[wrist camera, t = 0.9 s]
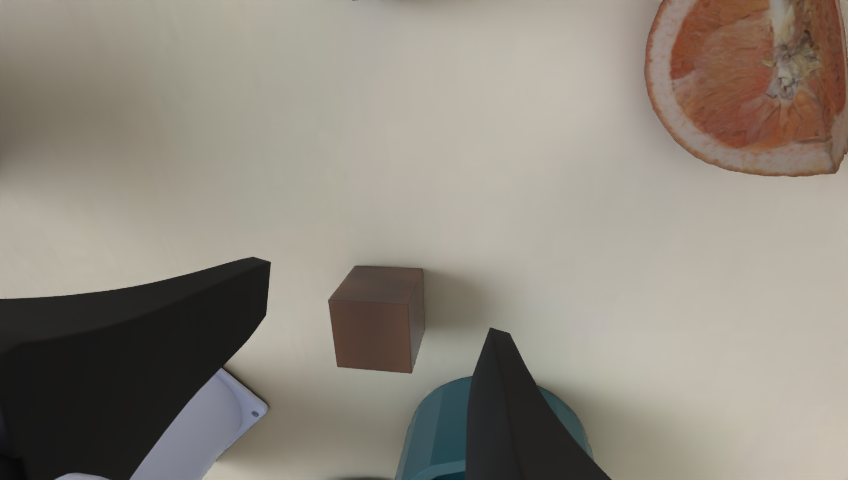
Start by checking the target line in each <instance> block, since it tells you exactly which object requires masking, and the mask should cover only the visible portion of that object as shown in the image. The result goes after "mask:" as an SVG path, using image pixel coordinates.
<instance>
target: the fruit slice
mask: <svg viewBox="0 0 848 480" xmlns="http://www.w3.org/2000/svg"><path fill="white" fill-rule="evenodd" d="M645 80H646V86H647V91H648V95H649V98H650V100H651V103H652V106H653V109H654V111H655V112H656V114H657V116H658V117H659V119H660V121H661V122H662V124H663V125H664V127H665V128H666V129H667V131H668V132H669V133H670V134H671V136H672V137H673V138H674V140H675V141H676V142H677V143H679V144H680V145H681V146H682V147H683V148H685V149H686V150H687V151H688V152H689V153H691V154H692V155H693V156H695V157H696V158H699V159H701V160H702V161H704V162H706V163H708V164H712V165H715V166H718V167H720V168H723V169H726V170H730V171H735V172H742V173H747V174H754V175H763V176H790V177H798V176H813V175H819V174H835V173H836V172H837V171H838V169H839V166H840V163H841V161H842V160H843V158H844V154H847V152H848V59H847V48H846V38H845V30H844V23H843V17H842V13H841V8H840V2H839V0H663V2H662V3H661V5H660V7H659V10H658V12H657V14H656V17H655V19H654V22H653V25H652V27H651V30H650V32H649V36H648V41H647V46H646V59H645Z"/></svg>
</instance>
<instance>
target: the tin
mask: <svg viewBox="0 0 848 480" xmlns="http://www.w3.org/2000/svg"><path fill="white" fill-rule="evenodd" d="M471 380H472V377H466V378H461V379H458V380H455V381H452V382H449V383H447V384H445V385H443V386H441V387H439V388H438V389H436V390H434V391H433V392H432V393H431V394H429V395H428V396H427V397H426V398H425V399H424V400H423V401H422V402H421V404H420V405H419V406H418V408H417V410H416V411H415V413H414V416H413V419H412V422H411V424H410V426H409V428H408V431H407V435H406V439H405V442H404V446H403V450H402V454H401V458H400V462H399V465H398V469H397V473H396V477H395V480H465V464H466V428H467V406H468V399H469V392H470V386H471ZM537 387H538V388H539V390H540V392H541V393H542V395H543V396H544V398H545V399H546V401H547V403H548V404H549V406H550V407H551V409H552V410H553V411H554V413H555V414H556V416H557V417H558V418H559V420H560V421H561V422H562V424H563V425H564V426H565V428H566V429H567V430H568V431H569V433H570V434H571V435H572V437H573V438H574V439H575V440H576V441H577V443H578V444H579V445H580V446H581V447H582V448H583V450H584V451H585V452H586V453H587V454H588V455H589V456H590V457H591V458H592V460H593V461H594V459H593V455H592V451H591V448H590V445H589V443H588V440H587V437H586V434H585V431H584V429H583V427H582V425H581V423H580V421H579V419H578V418H577V417H576V415H575V414H574V412H573V411H572V410H571V409H570V408H569V407H568V406H567V405H566V404H565V403H564V402H563V401H561V400H560V399H559V398H558V397H556V396H555V395H553V394H552V393H550V392H549V391H547V390H545V389H543V388H541V387H539V386H537Z"/></svg>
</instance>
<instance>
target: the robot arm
mask: <svg viewBox="0 0 848 480" xmlns="http://www.w3.org/2000/svg"><path fill="white" fill-rule="evenodd" d="M270 266H271V262H269V261H265V260H262V259H259V258H255V257H250V258H245V259H241V260H237V261H233V262H229V263H226V264H222V265H219V266H215V267H212V268H208V269H205V270H201V271H198V272H194V273H190V274H186V275H182V276H178V277H174V278H170V279H166V280H162V281H158V282H154V283H149V284H144V285H139V286H134V287H128V288H122V289H116V290H109V291H101V292H93V293H84V294H75V295H66V296H53V297H39V298H17V299H0V480H202V478H203V477H204V476H205V474H206V473H207V472H208V470H209V469H210V468H211V466H212V465H213V464H214V462H215V461H216V460H217V458H218V457H219V456H220V455H221V454H222V453H223V452H224V451H225V450H226V449H227V448H228V447H229V446H231V445H232V444H233V443H234V442H235V441H236V440H237V439H238V438H239V437H240V436H242V435H243V434H244V433H245V432H246V431H247V430H248V429H249V428H250V427H252V426H253V425H254V424H255V423H256V422H257V421H258V420H259V419H260V418H261V417H263V416H264V415H265V413H266V412H267V410H268V406H267V405H266V404H265V403H264V402H263V401H262V400H261V399H259V398H258V397H257V396H256V395H254V394H253V393H252V392H251V391H249V390H248V389H247V388H246V387H245V386H243V385H242V384H241V383H240V382H238V381H237V380H236V379H235V378H233V377H232V376H231V375H230V374H228V373H227V372H226V371H225V370H223V369H222V368H221V367H222V366H223V365H224V364H225V363H226V362H227V361H228V360H229V359H230V358H231V357H232V356H233V355H234V354H235V353H236V352H237V351H238V350H239V349H240V348H241V347H242V346H243V345H244V344H245V342H246V341H247V340H248V339H249V338H250V337H251V335H252V334H253V333H254V331H255V330H256V329H257V327H258V326H259V324H260V323H261V321H262V320H263V319H264V317H265V316H266V310H267V299H268V288H269V277H270ZM465 480H611V479H610V478H609V477H608V476H607V474H606V473H605V472H604V471H603V470H602V469H601V468H600V467H599V466H598V465H597V464H596V463H595V462H594V461H593V460H592V458H591V457H590V456H589V455H588V454H587V453H586V452H585V451H584V450H583V448H582V447H581V446H580V445H579V444H578V443H577V441H576V440H575V439H574V438H573V437H572V435H571V434H570V433H569V431H568V430H567V429H566V428H565V426H564V425H563V424H562V422H561V421H560V420H559V418H558V417H557V416H556V414H555V413H554V411H553V410H552V409H551V407H550V406H549V404H548V403H547V401H546V399H545V398H544V396H543V395H542V393H541V392H540V390H539V388H538V387H537V385H536V383H535V381H534V380H533V378H532V376H531V374H530V373H529V371H528V369H527V367H526V365H525V363H524V361H523V359H522V357H521V355H520V353H519V351H518V349H517V347H516V345H515V343H514V341H513V339H512V337H511V335H510V333H507V332H503V331H500V330H497V329H493V328H490V329H489V332H488V335H487V337H486V340H485V343H484V346H483V348H482V351H481V354H480V357H479V360H478V362H477V365H476V368H475V371H474V373H473V376H472V380H471V386H470V392H469V399H468V406H467V428H466V464H465Z"/></svg>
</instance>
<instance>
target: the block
mask: <svg viewBox="0 0 848 480" xmlns="http://www.w3.org/2000/svg"><path fill="white" fill-rule="evenodd" d="M328 303H329V310H330V317H331V324H332V332H333V339H334V346H335V354H336V361H337V367H344V368H355V369H366V370H378V371H389V372H400V373H412V371H413V368H414V365H415V361H416V358H417V355H418V351H419V348H420V344H421V341H422V338H423V334H424V331H425V314H424V288H423V269H415V268H391V267H368V266H354V268H353V269H352V270H351V272H350V273H349V274H348V275H347V277H346V278H345V279H344V281H343V282H342V283H341V284H340V286H339V287H338V288H337V290H336V291H335V292H334V293H333V295H332V296H331V297H330V299H329V300H328Z"/></svg>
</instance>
